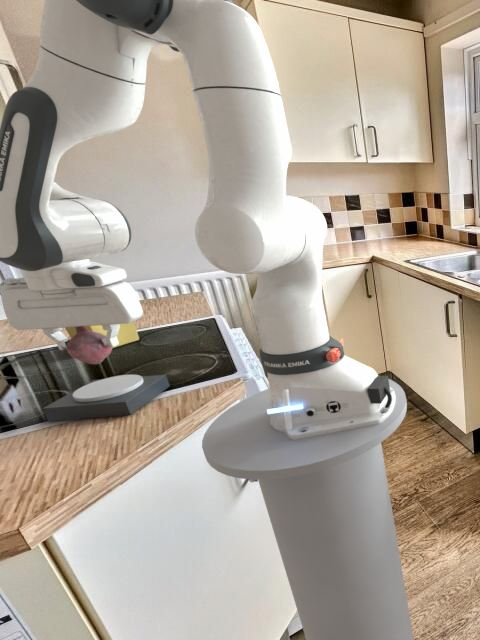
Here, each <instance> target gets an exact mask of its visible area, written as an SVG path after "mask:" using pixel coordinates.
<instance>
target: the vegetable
mask: <svg viewBox="0 0 480 640" xmlns="http://www.w3.org/2000/svg"><path fill="white" fill-rule="evenodd" d="M75 328H76V331H77V334H76V335H74V336H73V337H72V338H71V337H70V338H71V339H70V338H69V339H70V340H69V342H68V343H67V346H66V348H67V350H66V351H67V353H68V354H69V355H70V356H71V357H72V358H73V359H75V360H77V361H80V362H83V363H85V364H89V365H93V366H97V365H98V364H101V363H102V362H104V360H105V359H106V358H107V357H108V356H109V355H110V354H111V353H112V351H113V349H114V348H113V347H104V345H103V344H104V343H102V340H101V339H103V338H106V335H103V334H101V333H97V332H93V331H89V330H87V329H86V328H84V327H83V326H79V327H75Z"/></svg>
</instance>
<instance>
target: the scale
mask: <svg viewBox="0 0 480 640" xmlns="http://www.w3.org/2000/svg"><path fill="white" fill-rule="evenodd" d="M170 387H171V385H170V382H169V380H168V376H167V374H156V375H143V376H141V375H139V374H122V375H115V376H110V377H106V378H102V379H92V380H91V381H90V382H88V383H86V384H84V385H83V386H81V387H79V388H77V389H75V390H73V391H71V392H69V393H68V394H66V395H64V396H63V397H61V398H58V399H57V400H55V401H53V402H51V403H49V404H47V405H46V406H44V407H42V412H43V414H44V415H45V418H46V419H47V422H48V423H49V422H59V421H71V420H74V421H75V420H84V419H95V418H96V419H97V418H108V417H119V416H120V417H121V416H131V415H132V414H134V413H135V412H137V411H138V410H139V409H141V408H142V407H143V406H145V405H146V404H147V403H149V402H150V401H151V400H153V399H154V398H156V397H157V396H159V395H160V394H161V393H162V392H164V391H166V390H167V389H168V388H170Z"/></svg>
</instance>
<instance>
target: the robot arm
mask: <svg viewBox="0 0 480 640" xmlns="http://www.w3.org/2000/svg"><path fill="white" fill-rule="evenodd" d="M162 45H166V46H168V47H169V48H170V49H171V50H172V51H174V52H177V53H179V54H180V55H181V56H182V58H183V61H184V63H185V66H186V69H187V73H188V77H189V81H190V86H191V89H192V92H193V97H194V101H195V105H196V109H197V113H198V116H199V120H200V124H201V129H202V132H203V133H202V134H203V136H204V141H205V144H206V150H207V157H208V159H207V160H208V187H207V198H206V202H205V206H204V207H203V210H202V211H201V212H200V214H199V216H198V217H197V219H196V223H195V225H194V237H195V241H196V244H197V247H198V249H199V251H200V252H201V254H202V255H203V257H204V258H205V260H207V261H208V262H209V263H210V264H211V265H212V266H214V267H216V269H219V270H221V271H223V272H226V273H229V274H234V275H235V274H236V275H254V274H257V280H256V281H257V282H256V289H255V292H254V295H253V297H252V299H251V304H250V311H251V315H252V318H253V322H254V323H253V324H254V327H255V330H256V334H257V338H258V342H259V346H260V348H259V350H258V353H259V356H260V357H259V358H260V363H261V367H262V370H263V373H264V376H265V378H266V379H267V381H268V389H270V400H271V409H268V410H267V412H268V414H270V425H271V427H272V428H274V429H275V430H277V431H280V432H283V433H285V434H286V435H287V437H288V438H289V439H290V440H299V439H304V438H309V437H315V436H320V435H325V434H330V433H336V432H341V431H346V430H352V429H357V428H362V427H367V426H373V425H377V424H380V423H382V422H383V421H384V420H386V419H387V418H388V417H389V415H390V414H391V413H392V411H393V409H394V406H395V402H396V396H395V392H394V390H393V389H392V388H391V387H390V386H389V379H390V378H389V376H388V375H379V374H378V372H377V371H376V370H375V369H374V368H373V367H371V366H369V365H368V364H367V365H366V364H364V363H362V362H360V361H358V360H356V359H354V358H352V357H349V356H348V355H346V354H345V351H344V345H345V342H344V338H343V337H341V338H340V340H337V339H335V338H334V337H332V336H331V335H330V332H329V331H330V330H329V327H328V321H327V315H326V311H325V305H324V304H325V303H324V299H323V298H324V297H323V259H324V258H323V253H324V246H325V245H324V244H325V241H326V239H327V236H328V224H327V220H326V217H325V216H324V214H323V212H322V211H321V209H319V207H318V206H316V205H315V204H314V203H312V202H310V201H308V200H306V199H303V198H300V197H297V196H295V195H291V194H287V176H288V175H287V174H288V168H289V164H290V162H291V160H292V158H293V147H292V141H291V137H290V132H289V127H288V122H287V118H286V112H285V108H284V103H283V98H282V93H281V88H280V83H279V81H278V77H277V73H276V70H275V66H274V63H273V60H272V57H271V54H270V51H269V48H268V45H267V43H266V40H265V38H264V34H263V32H262V30H261V27H260V25H259V24H258V22H257V21H256V19H255V18H254V17H253V16H252V15H251V14H250V13H249V12H248V11H246V10H245V9H244V8H243V7H240V6H238V5H237V4H235V3H234V2H233V1H232V0H44V3H43V8H42V13H41V21H40V30H39V52H38V58H37V62H36V65H35V67H34V70H33V72H32V74H31V76H30V77H29V79H28V81H27V82H26V83H25V84H24V86H23V87H22V88H20V89H17V90H16V91H14V92H13V93H12V94H11V95H10V97H9V98H8V100H7V102H6V106H5V108H4V111H3V114H2V118H1V122H0V262H1V263H3V264H5V265H7V266H10V267H12V268H14V269H15V268H16V269H19V271H20V273H21V275H22V277H19V278H18V277H16V278H15V277H8V278H5V279H3V281H1V282H0V296H1V304H2V307H3V311H4V314H5V317H6V320H7V322H8V324H9V325H10V326H11V327H12V328H13V329H15V330H17V331H27V330H30V331H31V330H42V331H43V333H44V335H45V336H46V337H47V338H49V339H50V340H52V341H53V342H54V343H56V345H57V348H58V349H59V350H60V351H67V348H66V346H67V343H68V342H69V340H70V339H71V337H70V338H68V337H67V336H66V335H65V334H64V333H63V332H62V331H63V328H65V327H79V326H96V325H102V327H103V330H107V335H106V338H103V339H101V340H102V343H104V344H103V345H104V347H115V346H117V345H119V341H118V338H117V334H118V331H119V328H120V325H119V324H129V323H132V322H134V323H135V322H137V321H139V320H141V318H142V317H143V315H144V311H143V307H142V304H141V302H140V299H139V297H138V295H137V292H136V290H135V288H134V287H133V285H131V284H130V283H128V282H127V281H125V280H127V278H128V275H127V272H126V270H125V269H124V268H121V267H118V266H113V265H108V264H104V263H100V262H96V261H91V259H95V258H99V257H100V258H101V257H105V256H111V255H115V254H118V253H120V252H123V251H125V250H126V249H127V248H128V247H129V245H130V243H131V240H132V229H131V225H130V222H129V220H128V219H127V217H126V215H125V214H124V213H123V212H122V210H120V208H118V207H117V206H115V205H114V204H112V203H111V202H109V201H107V200H104V199H96V198H92V197H89V196H85V195H82V194H78V193H75V192H72V191H69V190H67V189H65V188H63V187H61V186H60V185H59V184H58V183H57V182H55V178H56V173H57V169H58V166H59V165H58V164H59V163H60V161H61V158H62V157H63V156H64V154H65V153H67V152H68V150H70V149H72V148H73V147H74V146H76V145H79V144H81V143H84V142H86V141H88V140H91V139H94V138H97V137H100V136H104V135H108V134H113V133H117V132H120V131H123V130H125V129H127V128H128V127H130V126H132V125H133V124H134V123H136V122H137V120H138V119H139V116H140V115H141V112H142V110H143V107H144V102H145V97H146V96H145V94H146V85H147V83H146V82H147V73H148V72H147V70H148V59H149V55H150V52H151V51H152V50H153V49H154V48H156V47H158V46H162ZM115 348H116V347H115Z"/></svg>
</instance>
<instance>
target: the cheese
mask: <svg viewBox="0 0 480 640" xmlns="http://www.w3.org/2000/svg"><path fill="white" fill-rule="evenodd" d="M119 325H120V328H119V331H118V334H117V338H118V341H119V345H117V346H115V347H113V348H112V349H115V348H118V347H121V346H123V345H128V344H130V343H133V342H137V341H139V340H140V337H139V334H138V331H137V327H136V324H135V322H132V323H129V324H119ZM83 327H84V328H86V329H87V330H89V331H93V332H97V333H101V334H103V335H107V330H103V327H102V325H96V326H83ZM64 328H65V331H66V332H67V334H68V335H69V337H70V338H72V337H73V336H74V335H76V334H77V331H76V328H75V327H64Z"/></svg>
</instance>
